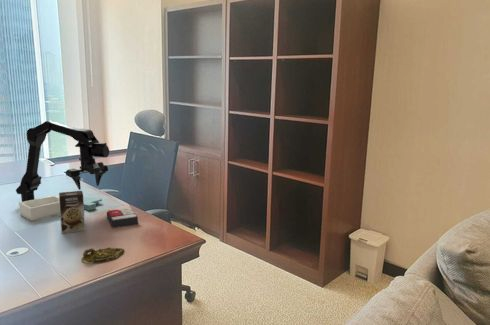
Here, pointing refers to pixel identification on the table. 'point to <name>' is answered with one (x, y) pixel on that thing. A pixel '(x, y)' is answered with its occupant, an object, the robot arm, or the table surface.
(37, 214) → the tub
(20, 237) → the table surface
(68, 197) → the coffee box
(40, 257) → the table surface
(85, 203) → the lid
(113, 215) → the black box
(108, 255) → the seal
